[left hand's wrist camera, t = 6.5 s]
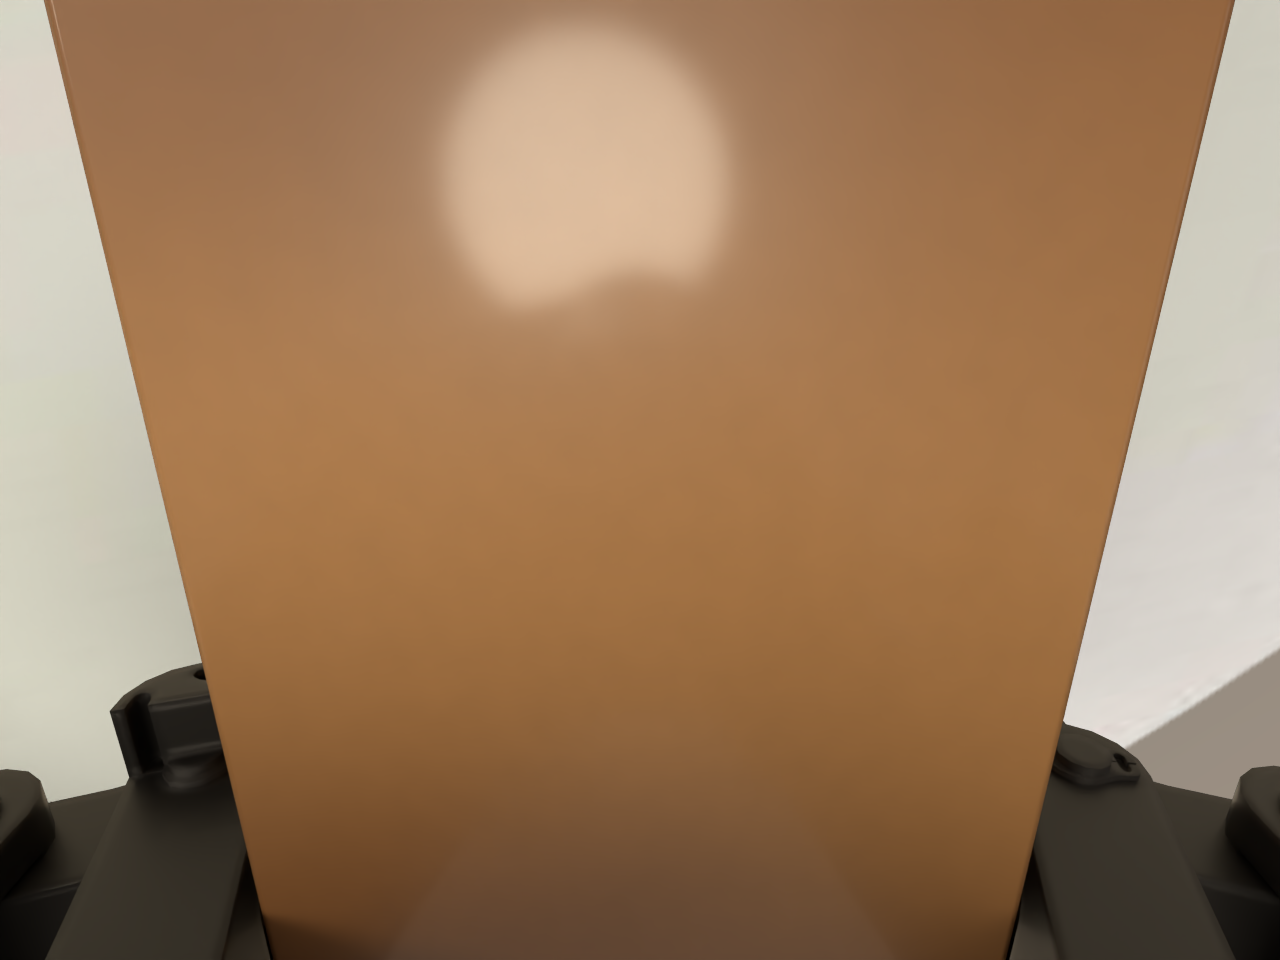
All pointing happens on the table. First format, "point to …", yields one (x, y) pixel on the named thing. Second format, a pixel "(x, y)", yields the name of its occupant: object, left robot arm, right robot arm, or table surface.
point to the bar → (639, 441)
